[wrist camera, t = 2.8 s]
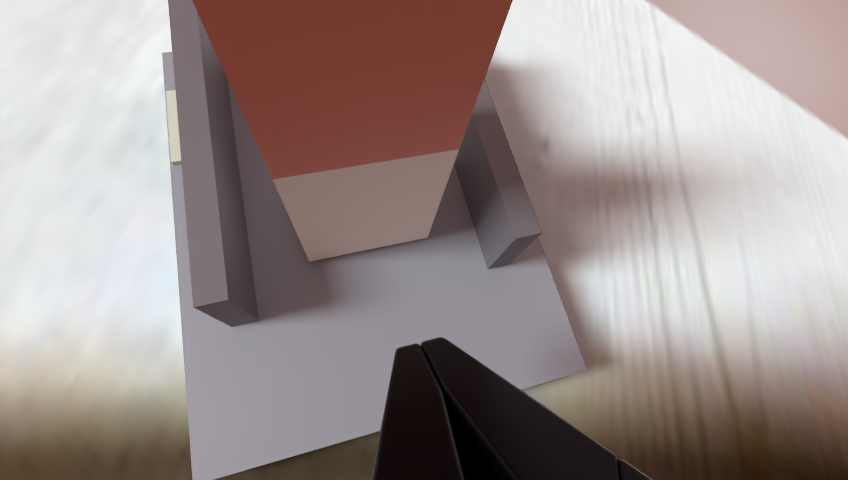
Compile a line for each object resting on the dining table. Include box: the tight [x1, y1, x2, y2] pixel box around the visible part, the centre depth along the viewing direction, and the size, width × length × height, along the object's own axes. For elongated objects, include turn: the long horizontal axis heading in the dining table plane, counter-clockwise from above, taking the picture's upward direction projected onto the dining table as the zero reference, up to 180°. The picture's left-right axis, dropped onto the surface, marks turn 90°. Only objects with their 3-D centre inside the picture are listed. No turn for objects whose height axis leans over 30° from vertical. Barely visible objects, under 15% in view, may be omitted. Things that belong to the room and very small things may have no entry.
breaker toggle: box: [192, 0, 512, 262], centre depth 9 cm, size 3×4×11 cm
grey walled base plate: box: [162, 0, 587, 480], centre depth 14 cm, size 15×12×4 cm
